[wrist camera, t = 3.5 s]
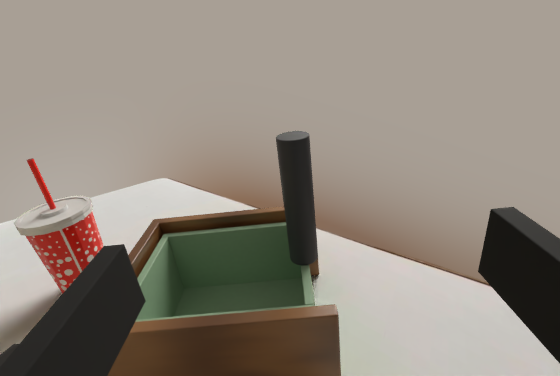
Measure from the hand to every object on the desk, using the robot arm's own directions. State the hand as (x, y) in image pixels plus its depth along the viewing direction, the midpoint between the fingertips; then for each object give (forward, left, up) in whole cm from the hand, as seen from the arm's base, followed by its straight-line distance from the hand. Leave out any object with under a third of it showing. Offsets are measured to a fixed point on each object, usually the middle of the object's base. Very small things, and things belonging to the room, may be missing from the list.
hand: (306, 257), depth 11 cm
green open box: (+8, -7, -13) cm, 17 cm away
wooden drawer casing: (+8, -7, -13) cm, 17 cm away
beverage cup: (+26, -9, -14) cm, 31 cm away
